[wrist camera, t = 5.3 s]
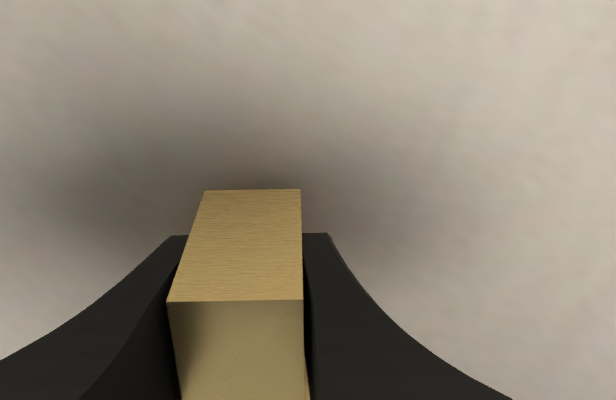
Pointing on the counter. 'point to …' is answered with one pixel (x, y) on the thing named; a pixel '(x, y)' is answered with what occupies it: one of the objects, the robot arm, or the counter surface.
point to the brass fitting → (241, 299)
